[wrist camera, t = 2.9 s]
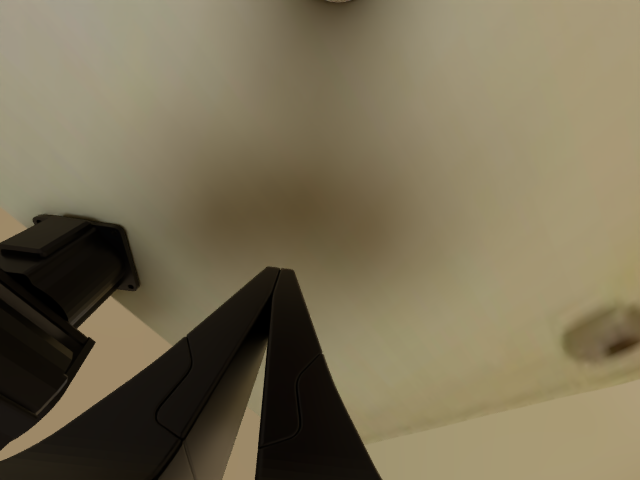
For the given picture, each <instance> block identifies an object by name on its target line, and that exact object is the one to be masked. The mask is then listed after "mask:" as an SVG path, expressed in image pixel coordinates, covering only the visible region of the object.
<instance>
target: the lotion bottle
mask: <svg viewBox="0 0 640 480" xmlns="http://www.w3.org/2000/svg"><path fill="white" fill-rule="evenodd" d="M326 1H330V2H346V1H350V0H326Z"/></svg>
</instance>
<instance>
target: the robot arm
mask: <svg viewBox="0 0 640 480" xmlns="http://www.w3.org/2000/svg"><path fill="white" fill-rule="evenodd" d="M33 222H34V224H35V225H34V226H32V227H30V228H28V229H26V230H25V231H23V232H21V233H19V234H17V235H15V236H13V237H11V238H9V239H7V240H5V241H3V242H1V243H0V450H2V449H3V448H4V447H5V446H6V445H7V444H8V443H9V442H11V441H13V440H14V439H16V438H18V437H19V436H21V435H22V434H23V433H25V432H26V431H28V430H29V429H30V428H32V427H33V426H34V425H35V424H37V422H39V421H40V420H41V419H42V418H43V417H44V416H45V415H46V414H47V413H48V412H49V411H50V410H51V409H52V408H53V407H54V406H55V404H56V403H57V402H58V401H59V400H60V398H61V397H62V396H63V394H64V393H65V391H66V389H67V388H68V386H69V385H70V383H71V382H72V380H73V378H74V377H75V375H76V373H77V372H78V370H79V369H80V367H81V365H82V364H83V362H84V360H85V359H86V357H87V355H88V354H89V352H90V351H91V349H92V348H93V346H94V344H95V341H94V340H92V339H91V338H90V337H88V338H87V337H86V336H85V335H84V334H82V333H81V332H80V331H79V330H77V328H78V327H79V326H80V325H81V324H82V323H83V322H84V321H85V320H86V319H87V318H88V317H89V316H90V315H91V314H92V313H93V312H94V311H95V310H96V309H97V308H98V307H99V306H100V305H101V304H102V303H103V302H104V301H105V300H106V299H107V298H108V297H109V296H110V295H111V294H112V293H113V292H114V291H115V290H116V289H120V290H128V291H136V290H137V289H138V287H139V281H138V278H137V274H136V271H135V267H134V264H133V260H132V257H131V253H130V250H129V246H128V243H127V239H126V236H125V232H124V230H123V229H122V228H121V227H120V226H118V225H113V224H106V223H99V222H92V221H87V220H82V219H75V218H68V217H61V216H49V215H38V216H36V217H34V218H33ZM115 231H116V232H117V233H116V232H115ZM266 347H267V355H266V366H265V377H264V388H263V398H262V409H261V420H260V431H259V442H258V453H257V463H256V474H255V480H382V478H381V477H380V475H379V473H378V471H377V470H376V468H375V466H374V464H373V462H372V460H371V458H370V456H369V454H368V452H367V450H366V448H365V446H364V444H363V442H362V440H361V438H360V436H359V434H358V432H357V430H356V428H355V426H354V424H353V422H352V420H351V418H350V416H349V414H348V412H347V410H346V408H345V406H344V404H343V402H342V399H341V397H340V395H339V393H338V391H337V389H336V386H335V384H334V382H333V379H332V376H331V374H330V371H329V369H328V366H327V363H326V360H325V357H324V355H323V354H322V349H321V346H320V344H319V341H318V338H317V335H316V332H315V329H314V326H313V323H312V321H311V318H310V315H309V312H308V309H307V306H306V303H305V300H304V298H303V295H302V292H301V289H300V286H299V283H298V280H297V277H296V275H295V272H294V270H292V269H284V268H282V269H281V270H280V268H277V267H266V268H265V269H264V270H263V271H261V272H260V273H259V274H258V275H257V276H255V277H254V278H253V279H252V280H251V281H250V282H248V283H247V284H246V285H245V286H244V287H243V288H241V289H240V290H239V291H238V292H237V293H235V294H234V295H233V296H232V297H231V298H230V299H228V300H227V301H226V302H225V303H224V304H223V305H221V306H220V307H219V308H218V309H217V310H215V311H214V312H213V313H212V314H211V315H210V316H208V317H207V318H206V319H205V320H204V321H203V322H201V323H200V324H199V325H198V326H197V327H195V328H194V329H193V330H192V331H191V332H190V333H188V334H187V337H183V338H182V339H181V340H180V341H179V342H178V343H176V344H175V345H174V346H173V347H172V348H170V349H169V350H168V351H167V352H166V353H164V354H163V355H162V356H161V357H159V358H158V359H157V360H156V361H154V362H153V363H152V364H150V365H149V366H148V367H147V368H145V369H144V370H142V371H141V372H140V373H138V374H137V375H136V376H134V377H133V378H132V379H130V380H129V381H128V382H126V383H125V384H123V385H122V386H120V387H119V388H118V389H116V390H115V391H114V392H112V393H110V394H109V395H108V396H107V397H105V398H103V399H102V400H101V401H99V402H98V403H96V404H95V405H94V406H92V407H91V408H90V409H88V410H87V411H85V412H84V413H82V414H81V415H80V416H78V417H77V418H75V419H74V420H72V421H71V422H70V423H68V424H67V425H66V426H64V427H63V428H61V429H60V430H58V431H57V432H55V433H54V434H52V435H51V436H49V437H47V438H46V439H44V440H42V441H41V442H39V443H37V444H35V445H33V446H32V447H30V448H28V449H26V450H24V451H22V452H20V453H18V454H16V455H14V456H12V457H10V458H7V459H5V460H2V461H0V480H222V478H223V475H224V472H225V469H226V466H227V463H228V460H229V457H230V454H231V451H232V448H233V445H234V442H235V439H236V436H237V433H238V430H239V427H240V424H241V421H242V419H243V416H244V412H245V410H246V407H247V404H248V401H249V398H250V395H251V392H252V389H253V386H254V383H255V380H256V377H257V374H258V371H259V368H260V365H261V362H262V359H263V356H264V353H265V350H266Z"/></svg>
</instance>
